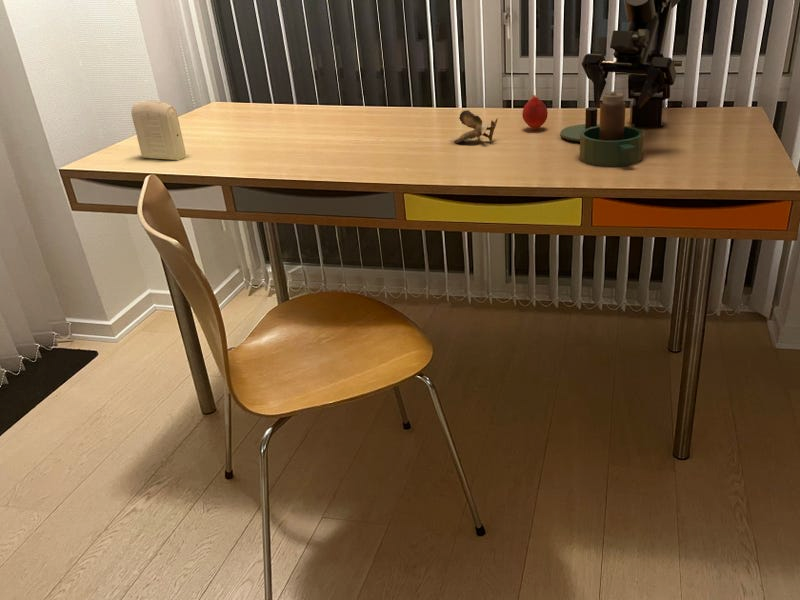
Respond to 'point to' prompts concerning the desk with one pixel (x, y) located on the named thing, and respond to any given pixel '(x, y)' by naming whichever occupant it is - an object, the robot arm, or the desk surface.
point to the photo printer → (158, 130)
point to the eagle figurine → (475, 126)
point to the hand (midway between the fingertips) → (616, 105)
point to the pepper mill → (612, 117)
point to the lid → (575, 130)
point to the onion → (535, 113)
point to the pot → (611, 148)
